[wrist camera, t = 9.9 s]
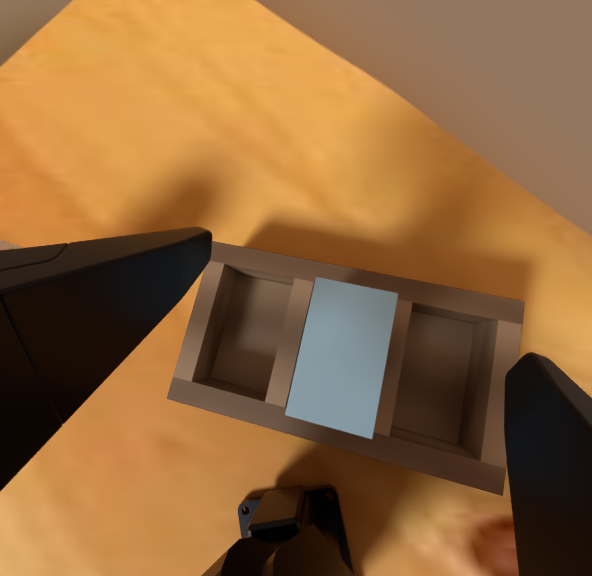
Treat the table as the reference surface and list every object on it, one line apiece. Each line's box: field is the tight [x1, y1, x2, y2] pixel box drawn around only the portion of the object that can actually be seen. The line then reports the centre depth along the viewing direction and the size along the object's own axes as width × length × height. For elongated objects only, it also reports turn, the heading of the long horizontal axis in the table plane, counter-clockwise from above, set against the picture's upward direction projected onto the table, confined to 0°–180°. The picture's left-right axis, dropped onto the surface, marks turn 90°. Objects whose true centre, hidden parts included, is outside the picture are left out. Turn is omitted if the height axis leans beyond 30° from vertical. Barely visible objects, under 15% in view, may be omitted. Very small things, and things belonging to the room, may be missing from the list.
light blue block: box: [285, 277, 398, 439], centre depth 16 cm, size 5×3×10 cm, turn 167°
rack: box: [167, 241, 525, 496], centre depth 20 cm, size 10×19×4 cm, turn 77°
